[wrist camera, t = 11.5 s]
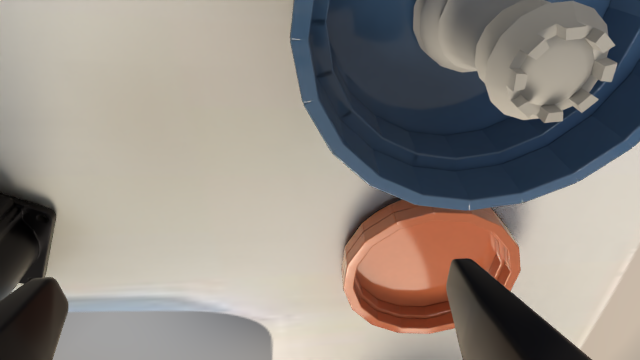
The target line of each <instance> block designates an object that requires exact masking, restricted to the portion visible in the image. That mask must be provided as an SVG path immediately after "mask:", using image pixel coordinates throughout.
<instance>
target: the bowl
mask: <svg viewBox="0 0 640 360" xmlns="http://www.w3.org/2000/svg"><path fill="white" fill-rule="evenodd" d="M545 1H548V2H551V3H556V2H565V1H575V2H578V3H580V4H583V5H586V6H589V7H591V8H594V9H595V10H596V12H597V13H598V14H599V15H600V17H601V18H602V19H603V21H604V22H605V23H606V24H607V29H608V37H609V38H610V39H611V40H612V42H613V43H614V44H615V46H614V47H612V48H611V49H609V51H608V55H607V58H609V59H611V60H613V61H615V62H617V67H616V70H615V73H614V76H613V79H612V82H606V81H600V80H598V81H597V82H596V83H595V85H594V86H593V88H592V89H591V91H590V92H589V93H590V94H592V95H593V96H595V97H596V98H598V99H599V100H598V101H596V102H595V103H594V104H593V105H591V106H590V107H589V108H588V109H586V110H585V111H584V112H583V113H581V112H580V111H579V110H577V109H576V108H575V107H573V106H571V107H569V108H567V109H565V110H562V111H563V121H560V122H550V123H544V122H543V121H542V120H541V119H529V120H521V119H518V118H515V117H511V116H508V115H504V114H503V113H502V112H501V111H500V110H499V109H498V108H497V107H496V106H495V105H494V104H493V103H492V102H491V101H490V98H489V95H488V92H487V89H486V85H485V83H484V82H483V81H482V80H481V79H480V78H479V75H478V72H477V71H472V72H458V71H455V70H452V69H448V68H445V67H442V66H440V65H439V64H438V63H437V62H436V61H434V60H433V59H432V58H431V57H429V56H428V55H427V54H426V53H425V52H424V51H423V50H422V49H421V48H420V46H419V43H418V41H417V38H416V35H415V33H414V30H413V17H414V5H415V3H416V0H294V5H293V14H292V23H291V32H290V43H291V48H292V53H293V58H294V63H295V68H296V73H297V78H298V83H299V88H300V93H301V98H302V102H303V104H304V107H305V108H306V110H307V112H308V114H309V115H310V117H311V119H312V120H313V122H314V124H315V126H316V127H317V129H318V131H319V132H320V134H321V136H322V138H323V139H324V141H325V143H326V144H327V146H328V148H329V150H330V151H331V152H332V154H333V155H334V156H336V157H337V158H338V159H339V160H340V161H341V162H343V163H344V164H345V165H346V166H347V167H348V168H350V169H351V170H352V171H353V172H354V173H355V174H357V175H358V176H359V177H360V178H361V179H362V180H364V181H365V182H366V183H367V184H368V185H369V186H371V187H373V188H376V189H378V190H381V191H383V192H386V193H388V194H390V195H393V196H395V197H398V198H400V199H402V200H405V201H407V202H410V203H412V204H414V205H419V206H428V207H437V208H446V209H455V210H464V211H467V210H469V211H471V210H478V209H485V208H492V207H499V206H506V205H514V204H520V203H524V202H527V201H530V200H532V199H535V198H538V197H540V196H543V195H546V194H548V193H551V192H554V191H556V190H559V189H562V188H564V187H567V186H570V185H572V184H575V183H577V181H578V182H579V181H581V180H582V179H584V178H586V177H587V176H589V175H590V174H592V173H594V172H595V171H597V170H598V169H600V168H602V167H603V166H605V165H606V164H608V163H609V162H611V161H613V160H614V159H616V158H617V157H619V156H621V155H622V154H624V153H625V152H627V151H629V150H630V149H632V147H634V146H635V145H636V144H638V143H639V142H640V0H545Z"/></svg>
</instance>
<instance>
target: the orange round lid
mask: <svg viewBox="0 0 640 360" xmlns="http://www.w3.org/2000/svg"><path fill="white" fill-rule="evenodd" d="M463 258H469V259H472V260H473V261H475V262H476V263H477V264H478V265H479V266H481V267H482V268H483V269H484V270H485V271H487V272H488V273H489V274H490V275H491V276H493V277H494V278H495V279H496V280H497V281H499V282H500V283H501V284H502V285H503V286H505V287H506V288H507V289H508V290H509V291H511V289H512V287H513V285H514V283H515V281H516V279H517V277H518V275H519V273H520V271H521V269H520V255H519V246H518V244H517V243H516V241H515V240H514V238H513V237H512V235H511V233H510V232H509V230H508V228H507V227H506V226H505V225H504V223H503V222H502V221H501V220H500V218H499V217H498V216H497V215H496V213H495V212H494V211H493V210H492V209H491V208H485V209H478V210H471V211H469V210H467V211H464V210H455V209H446V208H437V207H428V206H419V205H414V204H412V203H410V202H407V201H405V200H400V201H397V202H394V203H392V204H390V205H388V206H386V207H384V208H382V209H381V210H379V211H377V212H376V213H374V214H373V215H372V216H370V217H369V218H368V219H367V220H365V221H364V222H363V223H362V224H361V225H360V226H359V228H358V229H357V231H356V232H355V233H354V235H353V236H352V237H351V239H350V240H349V242H348V243H347V244H346V246H345V250H344V257H343V263H342V278H343V289H344V292H345V294H346V296H347V299H348V301H349V303H350V305H351V308H352V310H354V311H355V312H356V313H357V314H359V315H360V316H361V317H363V318H364V319H365V320H367V321H368V322H369V323H370V324H372V325H374V326H378V327H381V328H384V329H387V330H391V331H394V332H397V333H398V332H399V333H422V334H428V333H429V334H430V333H435V332H439V331H444V330H449V329H453V328H455V325H454V321H453V317H452V313H451V309H450V304H449V300H448V296H447V291H446V283H447V278H448V274H449V269H450V265H451V262H452V260H453V259H463Z"/></svg>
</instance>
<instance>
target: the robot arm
mask: <svg viewBox="0 0 640 360" xmlns="http://www.w3.org/2000/svg"><path fill="white" fill-rule="evenodd" d="M44 216H45V217H44ZM55 221H56V214H55V212H54V211H53V210H51V209H49V208H47V207H44V206H40V205H37V204H34V203H31V202H28V201H25V200H21V199H18V198H15V197H12V196H9V195H6V194H3V193H0V360H52V359H53V356H54V353H55V350H56V347H57V344H58V341H59V338H60V335H61V331H62V328H63V325H64V322H65V319H66V316H67V313H68V301H67V299H66V297H65V295H64V293H63V291H62V289H61V288H60V286H59V284H58V282H57V281H56V280H55V279H54V278H51V277H46V278H45V275H46V269H47V264H48V258H49V253H50V248H51V242H52V237H53V231H54V226H55ZM18 283H23V284H24V285H22V286H21V287H19V288H18V289H17V290H15V291H14V292H12V290H13V289H14V288H15V287H16V285H17V284H18ZM446 291H447V296H448V300H449V304H450V309H451V313H452V317H453V321H454V325H455V329H456V334H457V338H458V342H459V346H460V350H461V354H462V357H463V360H592V359H590V358H589V357H588V356H587V355H586V354H584V353H583V352H582V351H581V350H580V349H579V348H577V347H576V346H575V345H574V344H573V343H571V342H570V341H569V340H568V339H567V338H565V337H564V336H563V335H562V334H561V333H559V332H558V331H557V330H556V329H555V328H553V327H552V326H551V325H550V324H549V323H548V322H546V321H545V320H544V319H543V318H542V317H540V316H539V315H538V314H537V313H536V312H534V311H533V310H532V309H531V308H530V307H528V306H527V305H526V304H525V303H524V302H522V301H521V300H520V299H519V298H518V297H516V296H515V295H514V294H513V293H512V292H511V291H509V290H508V289H507V288H506V287H505V286H503V285H502V284H501V283H500V282H499V281H497V280H496V279H495V278H494V277H493V276H491V275H490V274H489V273H488V272H487V271H485V270H484V269H483V268H482V267H481V266H479V265H478V264H477V263H476V262H475V261H473V260H472V259H469V258H463V259H453V260H452V262H451V265H450V269H449V274H448V278H447V283H446ZM11 292H12V293H11ZM10 293H11V294H10Z"/></svg>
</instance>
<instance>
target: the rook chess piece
mask: <svg viewBox="0 0 640 360" xmlns="http://www.w3.org/2000/svg"><path fill="white" fill-rule="evenodd" d="M413 30H414V33H415V35H416V38H417V41H418V43H419V46H420V48H421V49H422V50H423V51H424V52H425V53H426V54H427V55H428V56H429V57H431V58H432V59H433V60H434V61H436V62H437V63H438V64H439V65H440V66H442V67H445V68H448V69H452V70H455V71H458V72H472V71H477V72H478V75H479V78H480V79H481V80H482V81H483V82H484V83H485V85H486V89H487V92H488V95H489V98H490V101H491V102H492V103H493V104H494V105H495V106H496V107H497V108H498V109H499V110H500V111H501V112H502V113H503V114H504V115H508V116H511V117H515V118H518V119H521V120H529V119H541V120H542V121H543V122H544V123H550V122H560V121H563V111H562V110H565V109H567V108H569V107H571V106H573V107H575V108H576V109H577V110H579V111H580V112H581V113H583V112H584V111H585V110H586V109H588V108H589V107H590V106H591V105H593V104H594V103H595V102H596V101H598V100H599V99H598V98H596V97H595V96H593V95H592V94H590V93H589V92H590V91H591V89H592V88H593V86H594V85H595V83H596V82H597V81H598V80H600V81H606V82H612V79H613V76H614V73H615V70H616V67H617V62H615V61H613V60H611V59H609V58H607V55H608V51H609V49H611V48H612V47H614V46H615V44H614V43H613V42H612V40H611V39H610V38H609V37H608V29H607V24H606V23H605V22H604V21H603V19H602V18H601V17H600V15H599V14H598V13H597V12H596V10H595V9H594V8H591V7H589V6H586V5H583V4H580V3H578V2H575V1H565V2H556V3H551V2H548V1H545V0H416V3H415V5H414V17H413Z"/></svg>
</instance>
